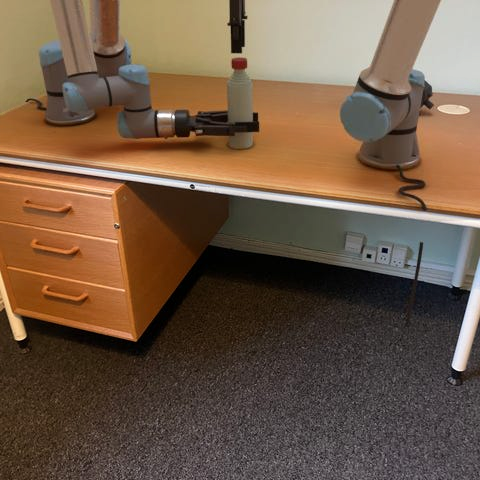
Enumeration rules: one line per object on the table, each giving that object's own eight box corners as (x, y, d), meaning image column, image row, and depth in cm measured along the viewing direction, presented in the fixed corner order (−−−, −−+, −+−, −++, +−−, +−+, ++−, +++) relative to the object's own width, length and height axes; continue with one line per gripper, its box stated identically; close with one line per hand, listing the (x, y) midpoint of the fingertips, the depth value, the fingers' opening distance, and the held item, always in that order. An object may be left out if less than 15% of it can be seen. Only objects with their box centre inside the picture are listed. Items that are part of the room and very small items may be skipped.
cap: (250, 67, 139) (250, 58, 138) (241, 70, 136) (241, 61, 135) (237, 64, 141) (237, 56, 140) (228, 68, 138) (228, 59, 137)
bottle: (257, 143, 150) (257, 59, 138) (243, 150, 146) (242, 65, 133) (237, 138, 154) (236, 56, 141) (223, 145, 149) (220, 61, 137)
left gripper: (179, 124, 157) (257, 122, 157) (172, 150, 140) (260, 148, 140) (177, 99, 153) (257, 97, 153) (170, 122, 136) (260, 121, 136)
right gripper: (248, -50, 115) (249, 59, 128) (256, -56, 132) (255, 41, 144) (214, -50, 116) (218, 58, 128) (226, -56, 132) (228, 41, 145)
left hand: (258, 122), depth 146 cm, fingers closed on bottle, 7 cm apart
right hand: (238, 49), depth 136 cm, fingers open, 6 cm apart
